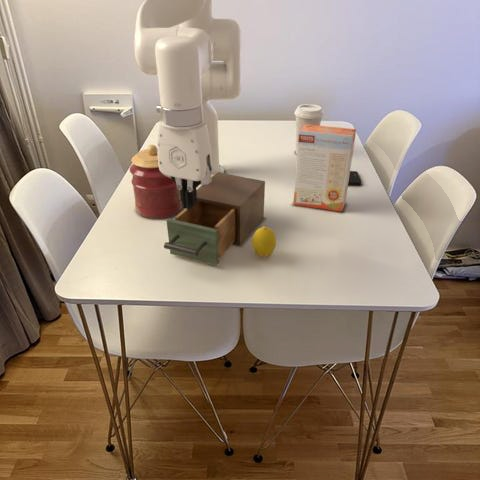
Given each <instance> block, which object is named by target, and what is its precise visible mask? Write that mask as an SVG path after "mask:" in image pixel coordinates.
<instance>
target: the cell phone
mask: <svg viewBox="0 0 480 480" xmlns="http://www.w3.org/2000/svg"><path fill="white" fill-rule="evenodd" d="M361 185H362V181H361V177H360V175H359V172H358V171H356V170H350V175H349V182H348V186H361Z"/></svg>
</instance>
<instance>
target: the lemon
mask: <svg viewBox="0 0 480 480" xmlns="http://www.w3.org/2000/svg"><path fill="white" fill-rule="evenodd" d="M276 239H277V238H276V234H275V233H274V231H273V230H272V229H271V228H269V227H267V226H263V227H262V226H261V227H260V228H258V229H256V230H255V231H254V233H253V235H252V241H251V245H252V249H253V251H254V253H255V254H256V255H258V256H259V257H261V258H266V257H269V256H271V255H272V254H273V252H275V249H276V245H277V240H276Z"/></svg>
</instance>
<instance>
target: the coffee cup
mask: <svg viewBox="0 0 480 480" xmlns="http://www.w3.org/2000/svg"><path fill="white" fill-rule="evenodd" d="M294 115H295V154H296V155H297V151H298V139H299V130H300V129H301V128H302V126H303V125H304V124H309V125H319V126H321V124H322V123H321V122H322V118H323V117H324V110H323V108H322V106H320V105H319V104H318V105H317V104H314V103H313V104H312V103H304V104H300V105H298V106H297V108H296V109H295V111H294Z"/></svg>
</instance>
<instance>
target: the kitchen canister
mask: <svg viewBox="0 0 480 480" xmlns="http://www.w3.org/2000/svg"><path fill="white" fill-rule="evenodd" d="M130 160H131V163H132V164H131V165H130V167H129V173H130V174H131V175H132V178H131V184H132V189H133V196H134V206H135V209H136V212H137V213H138V214H139V215H140V216H142V217H145V218H148V219H166V218H170V217H173V216H175V215H176V214H177V215H178V214H179V213H180V212H181V210H182V209H183V208H182V202H181V196H180V190H179V189H178V188H177V185H176V183H175V182H174V181H173V180H172V178H169V177H167V176H165V175H164V174H163V173H162V172H161V171H160V170H159V164H158V150H157V145H155V144H149V145H148V146H147V148H146V149H142V150H140V151H138V152H137V153H136V154H135V155H134V156H132V158H131V159H130Z"/></svg>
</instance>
